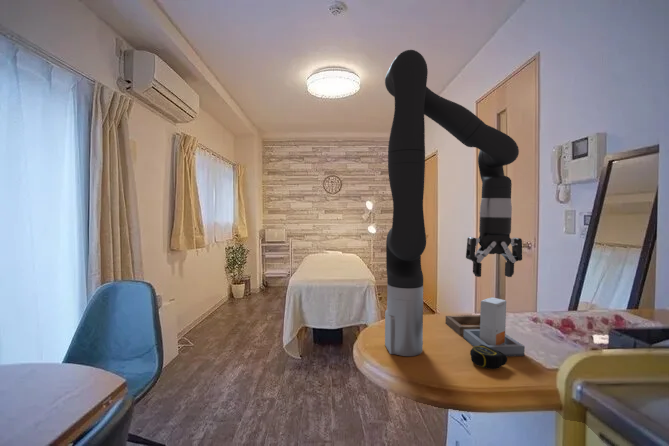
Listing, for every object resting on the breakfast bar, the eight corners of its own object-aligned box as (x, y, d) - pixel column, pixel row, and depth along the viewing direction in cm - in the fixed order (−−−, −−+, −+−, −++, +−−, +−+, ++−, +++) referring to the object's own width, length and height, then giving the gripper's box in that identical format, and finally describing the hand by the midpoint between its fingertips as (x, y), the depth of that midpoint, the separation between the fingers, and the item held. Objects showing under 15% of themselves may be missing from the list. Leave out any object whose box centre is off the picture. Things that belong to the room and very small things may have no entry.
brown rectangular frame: (459, 335, 94) (459, 327, 94) (445, 323, 104) (445, 315, 104) (500, 334, 95) (500, 325, 95) (482, 322, 105) (482, 314, 105)
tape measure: (508, 368, 75) (509, 352, 75) (489, 375, 72) (489, 358, 71) (482, 356, 81) (483, 342, 81) (464, 362, 78) (464, 347, 77)
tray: (486, 357, 80) (486, 347, 80) (463, 338, 92) (463, 329, 92) (524, 355, 81) (524, 346, 81) (497, 337, 93) (497, 328, 93)
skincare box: (495, 350, 83) (496, 304, 82) (479, 344, 86) (479, 300, 86) (506, 344, 86) (506, 300, 86) (490, 339, 90) (491, 296, 89)
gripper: (476, 215, 81) (474, 279, 81) (530, 216, 82) (528, 279, 82) (462, 215, 88) (460, 273, 89) (512, 215, 89) (510, 273, 90)
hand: (493, 276), depth 86 cm, fingers open, 8 cm apart
